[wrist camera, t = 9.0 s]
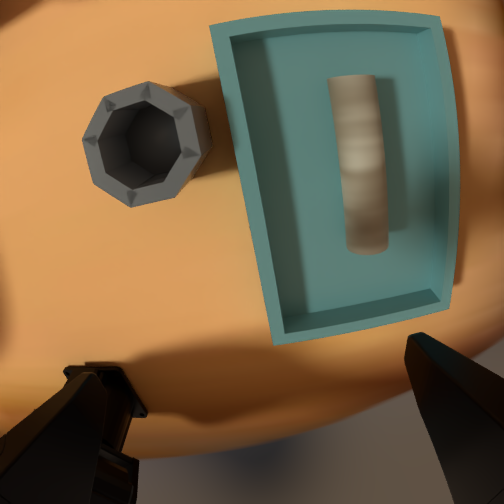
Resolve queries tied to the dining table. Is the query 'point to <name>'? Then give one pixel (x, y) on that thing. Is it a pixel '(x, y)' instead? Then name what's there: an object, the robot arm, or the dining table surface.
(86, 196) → the dining table surface
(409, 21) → the teal tray
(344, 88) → the birch pin
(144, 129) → the grey cup
